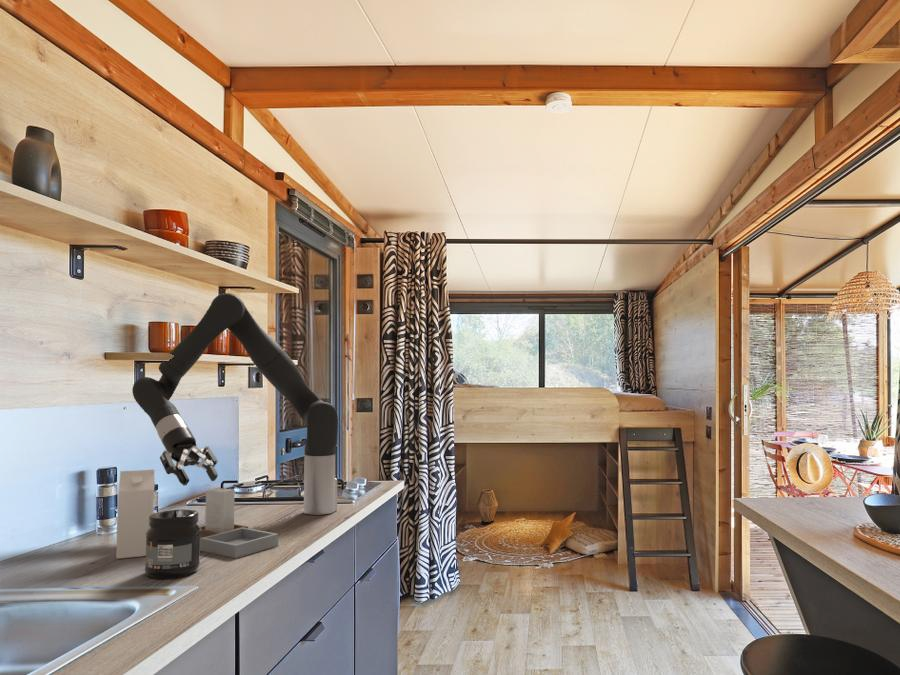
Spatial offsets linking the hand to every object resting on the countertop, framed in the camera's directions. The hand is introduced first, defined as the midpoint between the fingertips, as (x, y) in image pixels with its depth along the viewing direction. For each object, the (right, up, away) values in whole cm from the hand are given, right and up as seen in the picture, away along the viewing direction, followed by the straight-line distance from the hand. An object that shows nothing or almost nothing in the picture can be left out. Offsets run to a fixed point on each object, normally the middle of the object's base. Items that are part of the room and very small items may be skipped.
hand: (201, 481), depth 165 cm
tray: (+15, -13, -15) cm, 25 cm away
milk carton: (-7, -12, -20) cm, 25 cm away
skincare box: (+7, -13, -5) cm, 16 cm away
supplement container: (+7, -12, -34) cm, 37 cm away
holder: (+7, -13, -5) cm, 16 cm away
